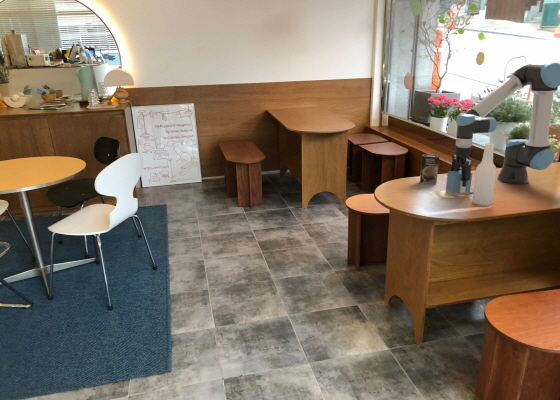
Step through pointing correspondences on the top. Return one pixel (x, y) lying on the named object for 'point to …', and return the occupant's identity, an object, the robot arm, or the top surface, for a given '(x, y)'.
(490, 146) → the alcohol
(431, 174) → the coffee box
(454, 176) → the block
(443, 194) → the board
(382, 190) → the top surface
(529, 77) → the robot arm
